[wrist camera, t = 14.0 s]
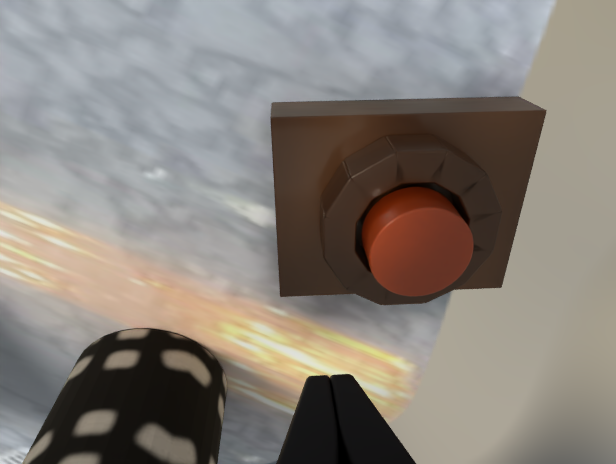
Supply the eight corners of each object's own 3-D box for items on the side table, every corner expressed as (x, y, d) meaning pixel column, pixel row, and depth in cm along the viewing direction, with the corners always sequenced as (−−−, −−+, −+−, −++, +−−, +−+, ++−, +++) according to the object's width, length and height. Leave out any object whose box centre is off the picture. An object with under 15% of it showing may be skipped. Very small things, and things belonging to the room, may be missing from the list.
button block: (280, 269, 22) (280, 325, 18) (271, 102, 18) (269, 132, 14) (482, 261, 22) (520, 314, 18) (519, 96, 18) (576, 124, 14)
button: (359, 271, 17) (366, 299, 16) (363, 187, 16) (372, 210, 14) (449, 267, 18) (465, 295, 16) (464, 184, 16) (483, 206, 14)
